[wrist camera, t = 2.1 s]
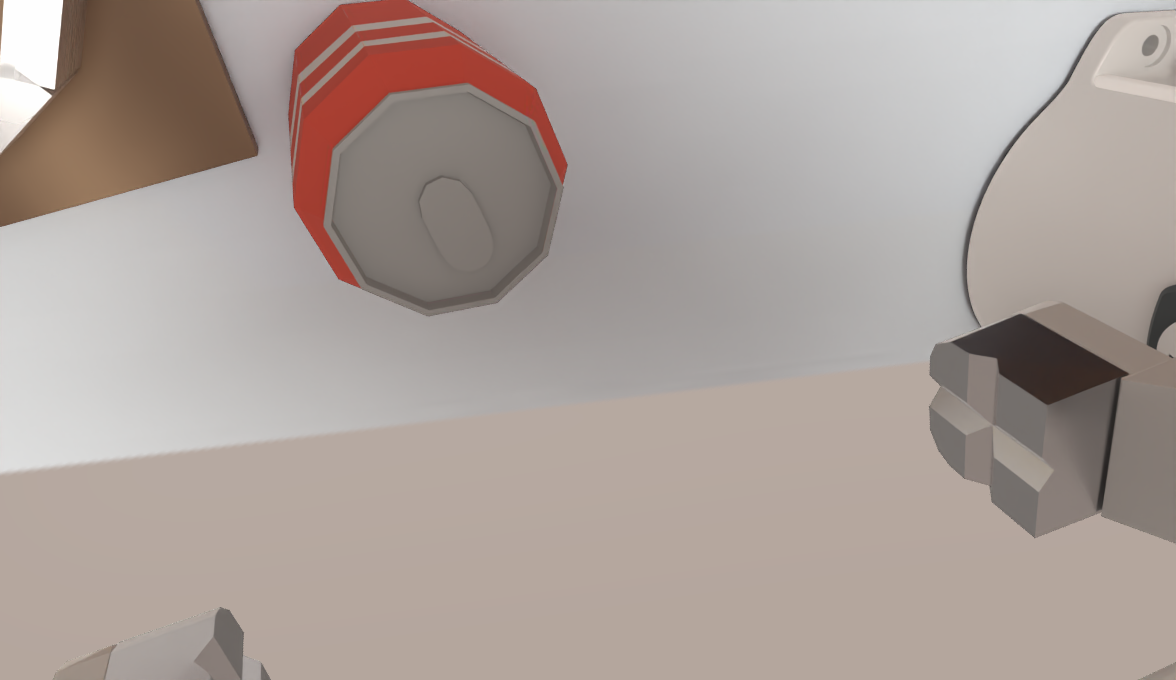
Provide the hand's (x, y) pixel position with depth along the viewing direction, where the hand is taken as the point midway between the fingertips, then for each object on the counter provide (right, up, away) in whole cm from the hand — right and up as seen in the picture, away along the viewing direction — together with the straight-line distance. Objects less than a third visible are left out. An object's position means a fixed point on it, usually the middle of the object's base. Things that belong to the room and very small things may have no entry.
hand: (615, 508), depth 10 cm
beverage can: (-7, +10, +20) cm, 23 cm away
